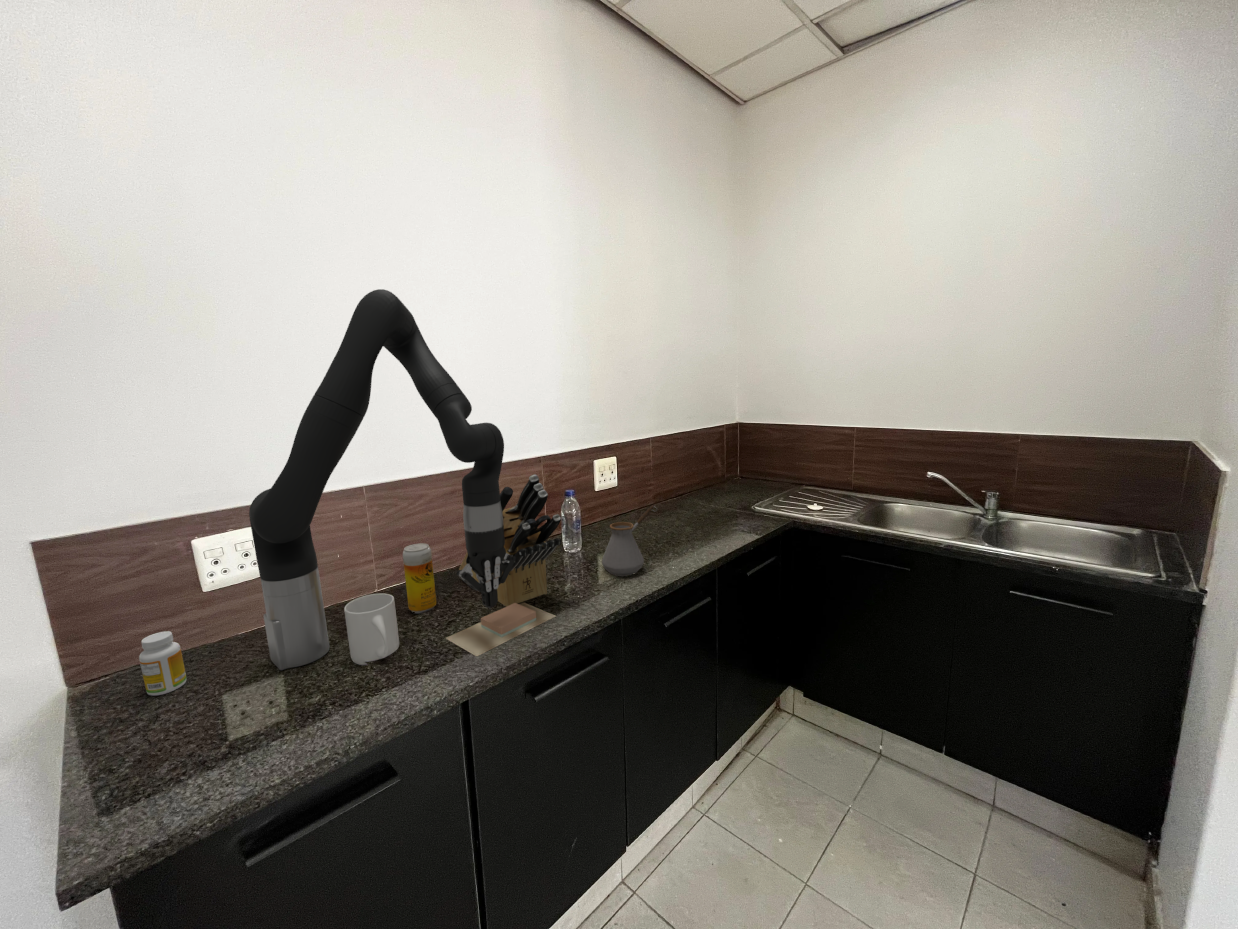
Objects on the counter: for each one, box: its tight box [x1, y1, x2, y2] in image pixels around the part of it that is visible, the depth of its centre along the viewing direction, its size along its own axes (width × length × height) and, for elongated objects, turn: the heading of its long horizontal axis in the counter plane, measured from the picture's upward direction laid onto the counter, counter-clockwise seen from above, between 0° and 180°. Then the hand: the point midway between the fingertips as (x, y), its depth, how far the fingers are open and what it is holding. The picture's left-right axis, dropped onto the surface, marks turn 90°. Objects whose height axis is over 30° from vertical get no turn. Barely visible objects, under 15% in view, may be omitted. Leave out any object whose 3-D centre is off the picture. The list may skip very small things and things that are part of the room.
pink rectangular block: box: [480, 603, 536, 637], centre depth 105 cm, size 2×7×9 cm
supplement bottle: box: [138, 630, 187, 696], centre depth 88 cm, size 5×5×10 cm
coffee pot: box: [601, 504, 658, 577], centre depth 137 cm, size 21×12×15 cm, turn 142°
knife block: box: [458, 474, 562, 607], centre depth 120 cm, size 11×35×31 cm, turn 41°
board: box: [445, 602, 557, 657], centre depth 104 cm, size 20×11×1 cm, turn 139°
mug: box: [343, 592, 400, 666], centre depth 95 cm, size 9×12×11 cm
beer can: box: [402, 543, 437, 614], centre depth 115 cm, size 6×6×15 cm
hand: (490, 606), depth 101 cm, fingers closed
